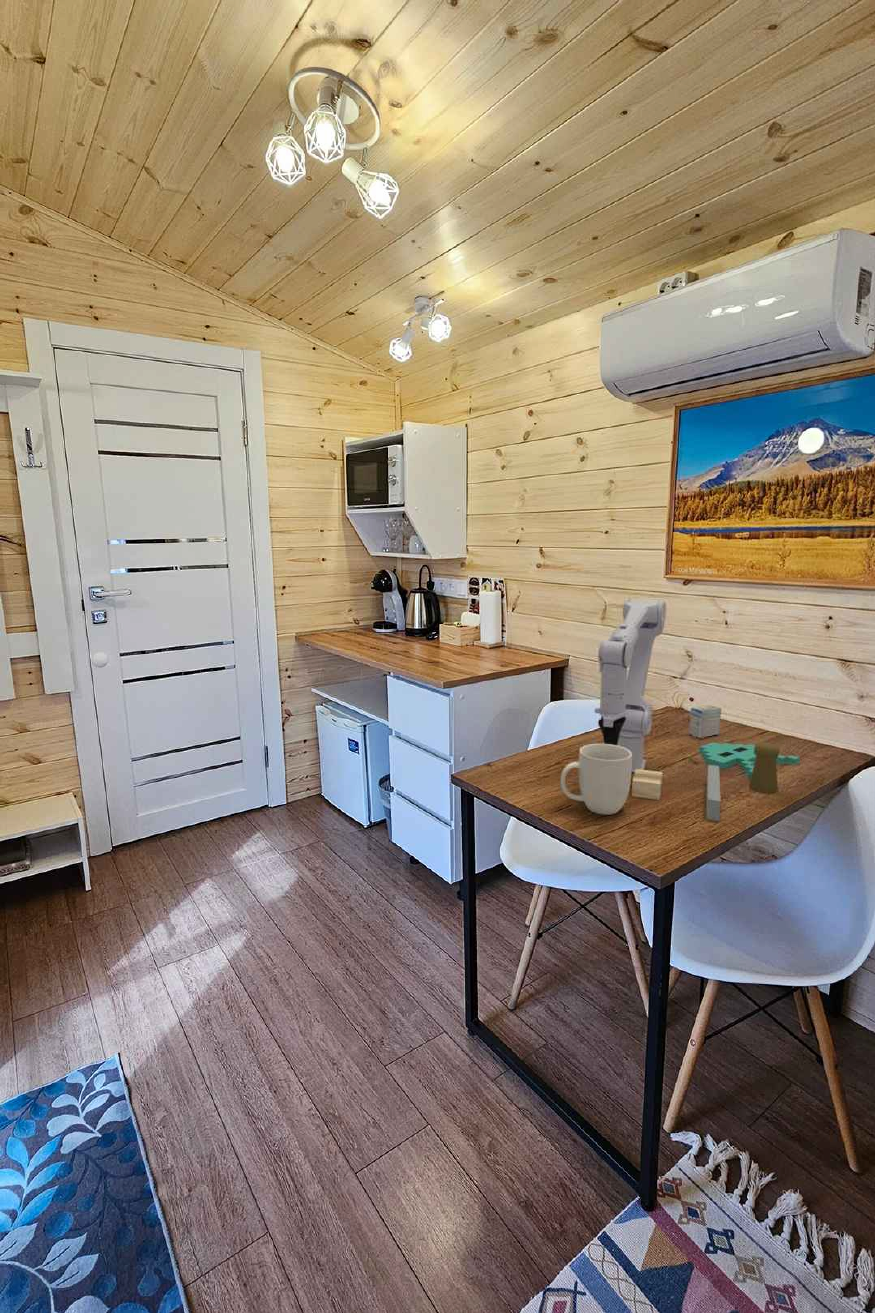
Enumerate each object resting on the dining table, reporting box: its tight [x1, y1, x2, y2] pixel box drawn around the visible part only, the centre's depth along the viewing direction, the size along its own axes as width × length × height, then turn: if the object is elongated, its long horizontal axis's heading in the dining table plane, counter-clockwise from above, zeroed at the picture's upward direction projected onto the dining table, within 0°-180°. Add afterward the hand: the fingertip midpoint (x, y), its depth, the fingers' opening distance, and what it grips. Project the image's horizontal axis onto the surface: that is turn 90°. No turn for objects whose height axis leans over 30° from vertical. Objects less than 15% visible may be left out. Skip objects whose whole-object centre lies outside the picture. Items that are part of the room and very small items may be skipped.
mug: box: [560, 743, 632, 816], centre depth 134 cm, size 15×11×13 cm
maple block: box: [631, 769, 663, 801], centre depth 144 cm, size 8×6×4 cm
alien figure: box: [698, 742, 801, 780], centre depth 164 cm, size 20×2×20 cm
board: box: [706, 765, 722, 822], centre depth 139 cm, size 22×2×4 cm, turn 157°
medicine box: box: [688, 704, 722, 737], centre depth 185 cm, size 8×4×9 cm, turn 115°
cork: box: [748, 741, 780, 795], centre depth 145 cm, size 6×6×11 cm
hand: (611, 748), depth 146 cm, fingers closed
